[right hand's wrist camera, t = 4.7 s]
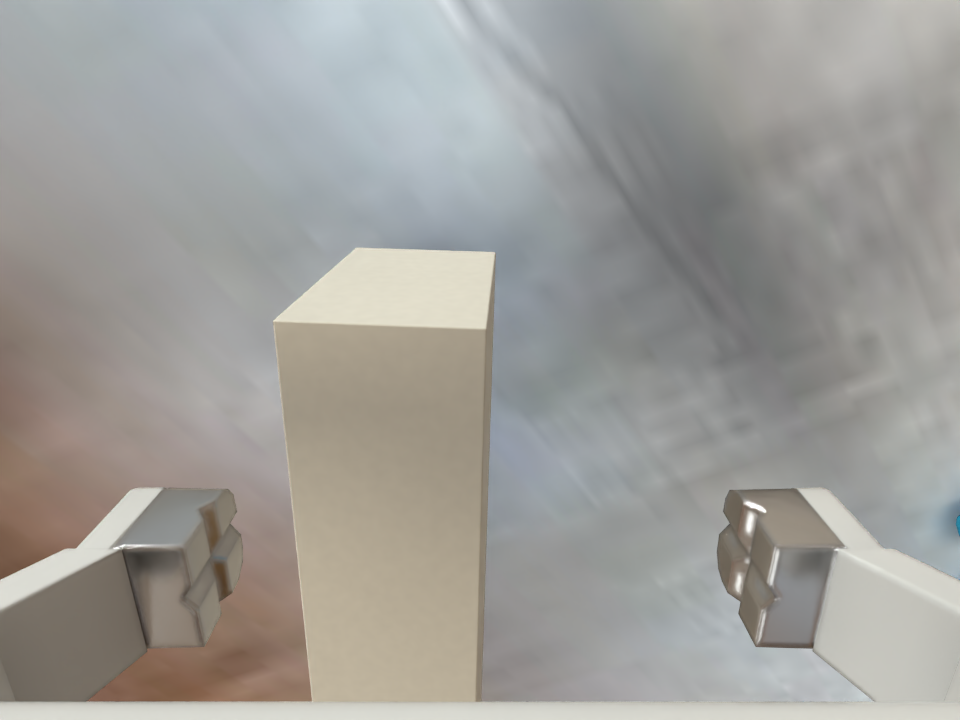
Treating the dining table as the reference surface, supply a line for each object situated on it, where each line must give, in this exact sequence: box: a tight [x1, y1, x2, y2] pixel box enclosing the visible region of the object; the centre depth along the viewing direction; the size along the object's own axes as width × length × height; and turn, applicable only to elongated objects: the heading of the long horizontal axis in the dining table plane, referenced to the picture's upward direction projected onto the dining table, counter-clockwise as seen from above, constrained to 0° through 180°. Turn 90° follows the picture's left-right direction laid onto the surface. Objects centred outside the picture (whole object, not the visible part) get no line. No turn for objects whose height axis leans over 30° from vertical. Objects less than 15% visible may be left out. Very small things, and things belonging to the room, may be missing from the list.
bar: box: [273, 248, 496, 702], centre depth 24 cm, size 28×5×8 cm, turn 179°
